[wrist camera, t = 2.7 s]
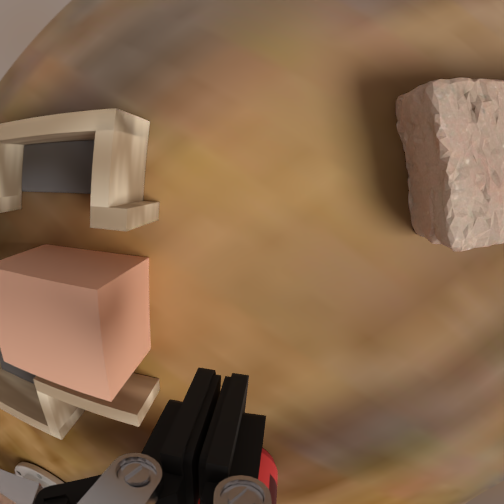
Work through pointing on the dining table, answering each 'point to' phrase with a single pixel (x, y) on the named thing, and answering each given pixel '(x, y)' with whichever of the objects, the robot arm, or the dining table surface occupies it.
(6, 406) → the channel
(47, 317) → the block
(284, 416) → the dining table surface
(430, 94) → the brick
